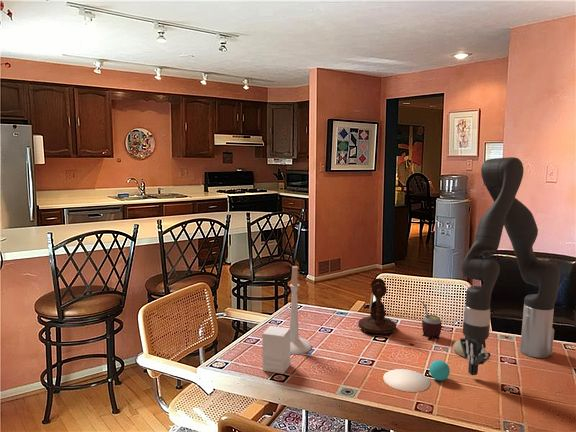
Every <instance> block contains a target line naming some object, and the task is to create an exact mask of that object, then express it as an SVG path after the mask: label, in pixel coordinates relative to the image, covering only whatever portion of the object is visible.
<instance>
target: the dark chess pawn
mask: <svg viewBox="0 0 576 432" xmlns="http://www.w3.org/2000/svg"><path fill="white" fill-rule="evenodd" d="M370 287H371V294H370V300H369V301H370V302H369V316H365V317H364V316H363V317H362V318H360V319H359V320H358V324H357V326H358V327H359V328H360V329H362V330H363V334H367V332H368V333H374V334H388V335H389V336H391V335H392V333H393V332H394V331H396V330H397V324H396V322H395V321H394V320H392V319H391V318H388V317H386V313H387V312H386V310H385V304H384V303H383V302H382V299H383V297H385V296H386V294H387V287H386V282H385V280H384V279H382V278H379V277H378V278H374V279H373V280H371V284H370ZM374 297H375V300H374V301H373V298H374Z"/></svg>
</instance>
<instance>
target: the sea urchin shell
mask: <svg viewBox="0 0 576 432" xmlns="http://www.w3.org/2000/svg"><path fill="white" fill-rule="evenodd" d="M452 348H453V351H454V352H455V353H456V354H458V355H459V356H462V357H463V358H466V357H465V356H464V352H463V349H462V346H461V342H460V339H458V340H456V341H455V342H454V343H453V346H452Z"/></svg>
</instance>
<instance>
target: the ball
mask: <svg viewBox="0 0 576 432" xmlns="http://www.w3.org/2000/svg"><path fill="white" fill-rule="evenodd" d="M450 369H451V368H450V367H449V365H448V363H447V362H445V361H443V360H442V359H441V360H438V359H437V360H434V361H432V362H431V363H430V365H429V374H430V376H431V377H432V378H433V379H434V380H436V381H439V382H440V381H441V382H442V381H445V380H447V379H448V377H449V376H450V372H451V370H450Z"/></svg>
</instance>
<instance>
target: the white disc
mask: <svg viewBox="0 0 576 432" xmlns="http://www.w3.org/2000/svg"><path fill="white" fill-rule="evenodd" d="M383 381H384V383H385V384H386V385H387V386H389V387H390V388H392V389H394V390H397V391H400V392H407V393H418V392H423V391H425V390H428V389H429V388H430V386H431V381H430V379H429V378H428V377H427V376H425V375H424V374H422V373H420V372H418V371H414V370H411V369H405V368H401V369H400V368H397V369H391V370H389V371H387V372H385V373H384V374H383Z"/></svg>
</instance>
